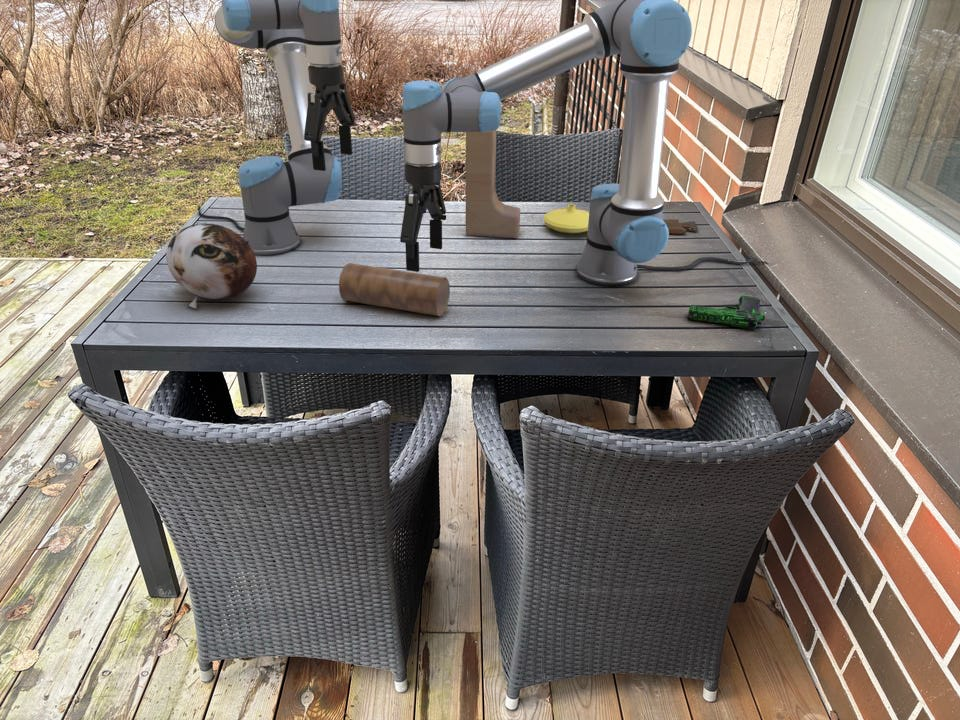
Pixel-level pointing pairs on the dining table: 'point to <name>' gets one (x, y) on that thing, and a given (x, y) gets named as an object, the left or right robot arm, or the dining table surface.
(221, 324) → the dining table surface
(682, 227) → the brown jagged flat piece
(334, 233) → the dining table surface
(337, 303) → the dining table surface
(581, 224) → the yellow lid
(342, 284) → the rod
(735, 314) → the handgun
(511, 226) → the decorative block
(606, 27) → the right robot arm
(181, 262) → the cat face balloon
